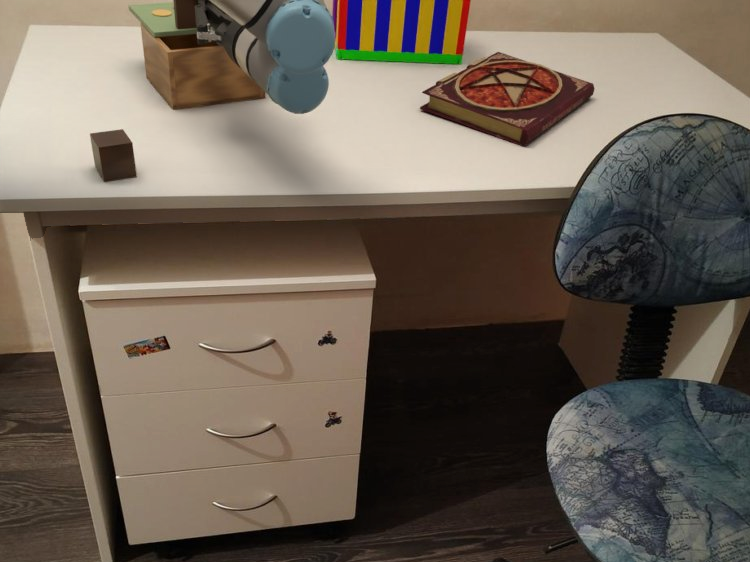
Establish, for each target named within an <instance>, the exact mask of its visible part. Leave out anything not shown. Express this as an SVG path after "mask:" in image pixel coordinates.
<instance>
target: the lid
mask: <svg viewBox="0 0 750 562" xmlns="http://www.w3.org/2000/svg"><path fill="white" fill-rule="evenodd" d="M196 5H197V0H173V1H172V2H157V3H141V4H140V3H139V4H129V5H128V11H129V12H130V13H131V14H132V15H133V16H134V17H135V18H136V19H137V20H138V21H139V23H142V24H143V26H144V27H145V28H146V29H147V30H148V31H149V32H150V33H151V34H152V35H153V36H154V37H166V36H178V35H190V34H197V26H196V18H195V6H196ZM210 28H211V29H213V31H215V29H214V28H213V27H212V26H211V25H210Z"/></svg>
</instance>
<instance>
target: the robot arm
mask: <svg viewBox="0 0 750 562" xmlns="http://www.w3.org/2000/svg"><path fill="white" fill-rule="evenodd" d="M195 18H196V26H197V41H198V44H200V45H204V44H206V43H207V42H211V40H215V42H216V43H217V44H218V45H219V46H222V47H224V48H225V50H226V52H227V54H228V56H229V57H230V58H231V60H232V61H233V62H234V63H235V64H236V65H237V66H238V67H239V68H241V69H242V70H243V71H244V72H245V73H246V74H247V75H248V76H249V77H250V78H251V79H252V80H253V81H254V82H256V83H257V84H258V85H259V86H260V87H261V88H262V89H263V90H264V91H265V94H266V95H267V96H268V97H269V99H270V100H271V102H273V103H274V104H276V105H278V106H279V107H281V108H282V109H283V110H285V111H287V112H288V113H292V114H295V115H304V114H307V113H310V112H312V111H314V110H316V109H317V108H318V107H319V106H320V105H321V104H322V103H323V101H324V100H325V98H326V96H327V94H328V90H329V86H330V85H329V84H330V81H329V80H330V79H329V75H328V72H327V70H326V68H325V65H326V64H327V63H328V62H329V60H330V59H331V57H332V55H333V53H334V51H335V47H334V46H335V31H334V22H333V18H332V13H330V10H329V9H328V8H327V5H326V3H325V1H324V0H197V5H196V6H195ZM210 25H211V26H212V27H213V28H214V29H215V31H213V29H211V28H210Z"/></svg>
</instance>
